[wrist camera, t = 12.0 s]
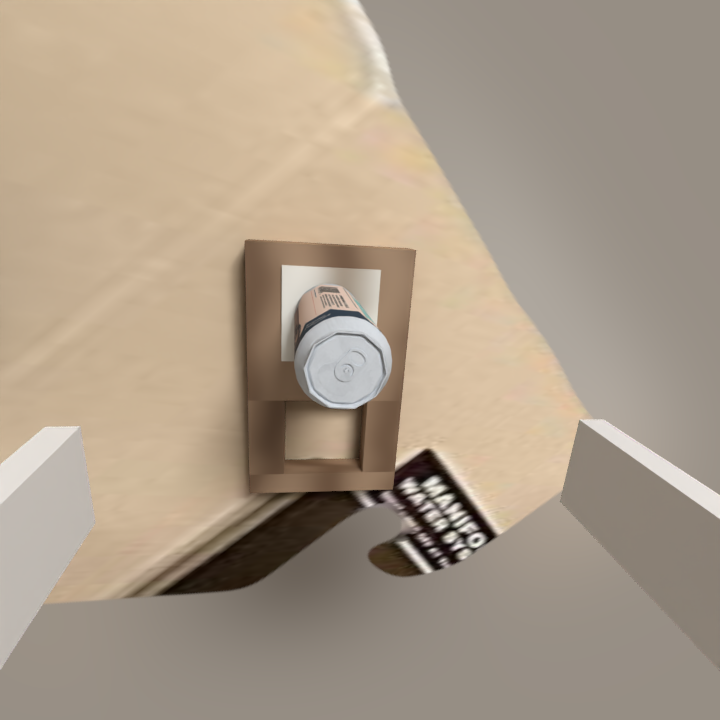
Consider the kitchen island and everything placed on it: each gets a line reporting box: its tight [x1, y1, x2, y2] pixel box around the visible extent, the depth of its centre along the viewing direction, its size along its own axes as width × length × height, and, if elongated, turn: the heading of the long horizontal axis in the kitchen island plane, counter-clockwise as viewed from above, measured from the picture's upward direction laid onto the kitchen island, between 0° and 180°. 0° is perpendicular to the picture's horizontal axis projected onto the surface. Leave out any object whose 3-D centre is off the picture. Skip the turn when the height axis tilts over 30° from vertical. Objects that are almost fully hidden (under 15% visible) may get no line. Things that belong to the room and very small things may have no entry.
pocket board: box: [245, 239, 416, 493], centre depth 34 cm, size 12×20×2 cm, turn 177°
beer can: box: [294, 284, 392, 409], centre depth 26 cm, size 5×5×12 cm
